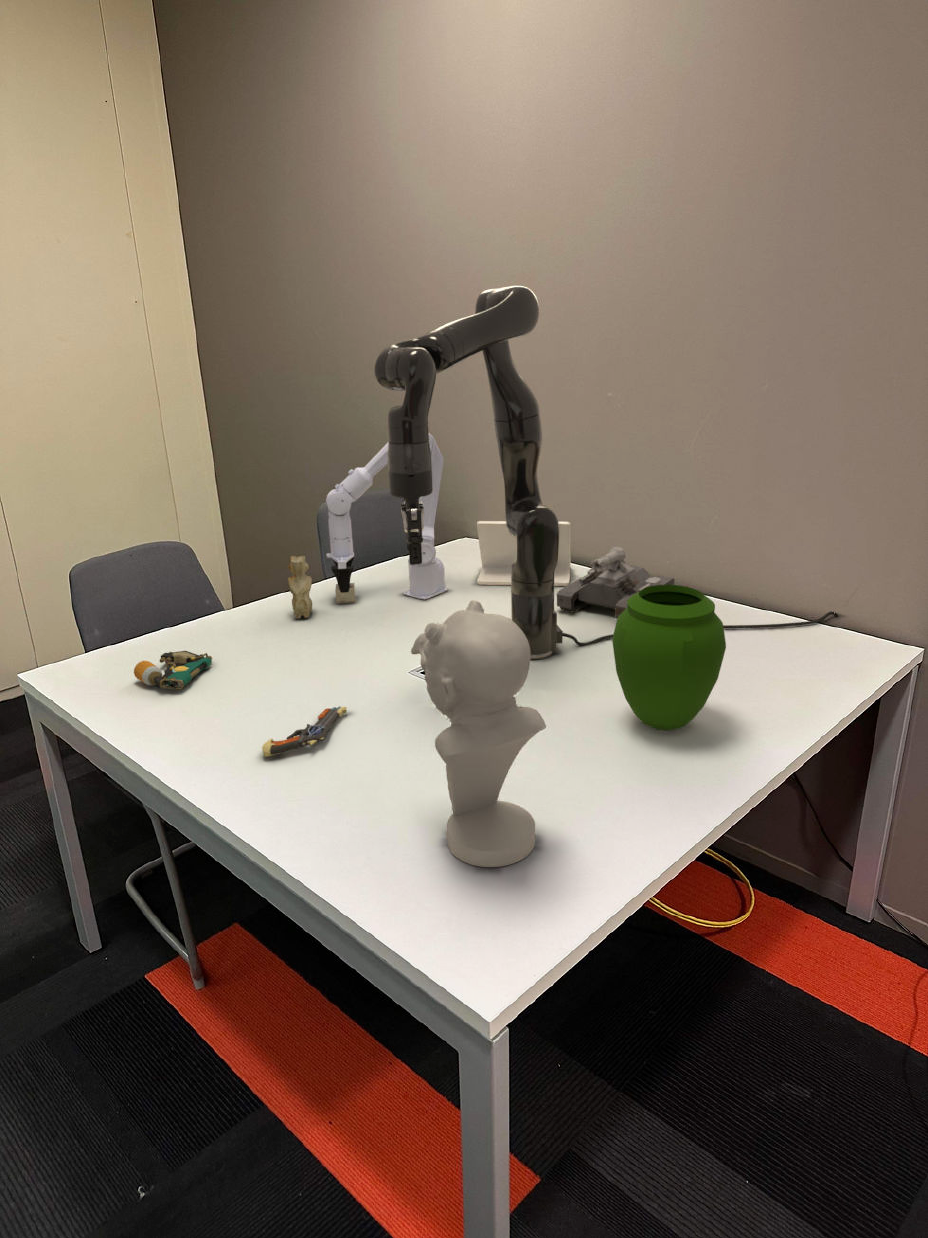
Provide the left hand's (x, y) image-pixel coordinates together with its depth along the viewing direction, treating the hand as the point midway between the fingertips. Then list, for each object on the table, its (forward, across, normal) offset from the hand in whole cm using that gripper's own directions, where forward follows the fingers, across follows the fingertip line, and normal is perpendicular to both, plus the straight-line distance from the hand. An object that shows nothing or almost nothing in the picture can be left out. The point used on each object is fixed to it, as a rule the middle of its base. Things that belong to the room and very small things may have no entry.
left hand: (344, 587), depth 222 cm
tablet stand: (+3, -12, +50) cm, 51 cm away
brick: (+4, 0, 0) cm, 4 cm away
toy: (+3, +17, +68) cm, 70 cm away
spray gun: (+4, +42, -35) cm, 55 cm away
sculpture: (+4, +10, -10) cm, 15 cm away
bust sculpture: (+4, +108, +20) cm, 110 cm away
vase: (+3, +79, +59) cm, 99 cm away
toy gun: (+4, +74, -6) cm, 74 cm away
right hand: (-26, +65, +16) cm, 72 cm away
